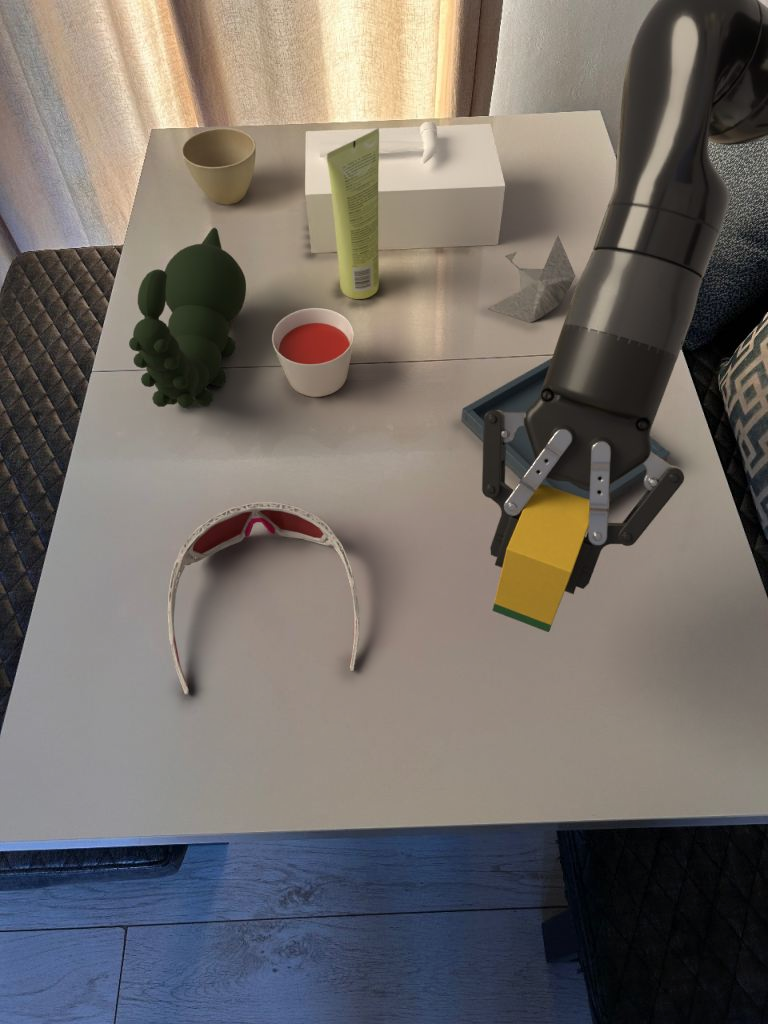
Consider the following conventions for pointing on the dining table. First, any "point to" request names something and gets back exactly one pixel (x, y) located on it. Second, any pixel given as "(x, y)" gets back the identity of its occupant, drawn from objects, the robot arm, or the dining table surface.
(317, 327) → the white round cup
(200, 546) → the sunglasses
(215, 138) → the flower pot
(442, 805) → the dining table surface
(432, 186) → the tissue box
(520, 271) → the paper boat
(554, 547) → the sponge
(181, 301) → the toy figurine
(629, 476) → the tray
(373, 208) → the tube
